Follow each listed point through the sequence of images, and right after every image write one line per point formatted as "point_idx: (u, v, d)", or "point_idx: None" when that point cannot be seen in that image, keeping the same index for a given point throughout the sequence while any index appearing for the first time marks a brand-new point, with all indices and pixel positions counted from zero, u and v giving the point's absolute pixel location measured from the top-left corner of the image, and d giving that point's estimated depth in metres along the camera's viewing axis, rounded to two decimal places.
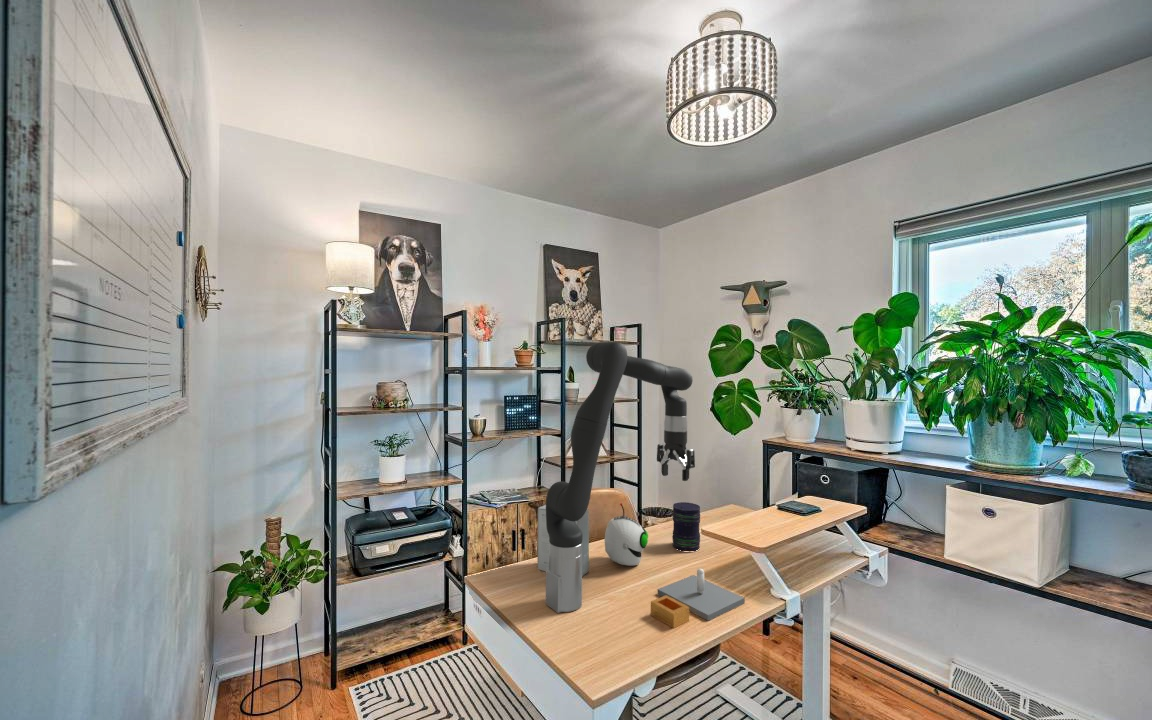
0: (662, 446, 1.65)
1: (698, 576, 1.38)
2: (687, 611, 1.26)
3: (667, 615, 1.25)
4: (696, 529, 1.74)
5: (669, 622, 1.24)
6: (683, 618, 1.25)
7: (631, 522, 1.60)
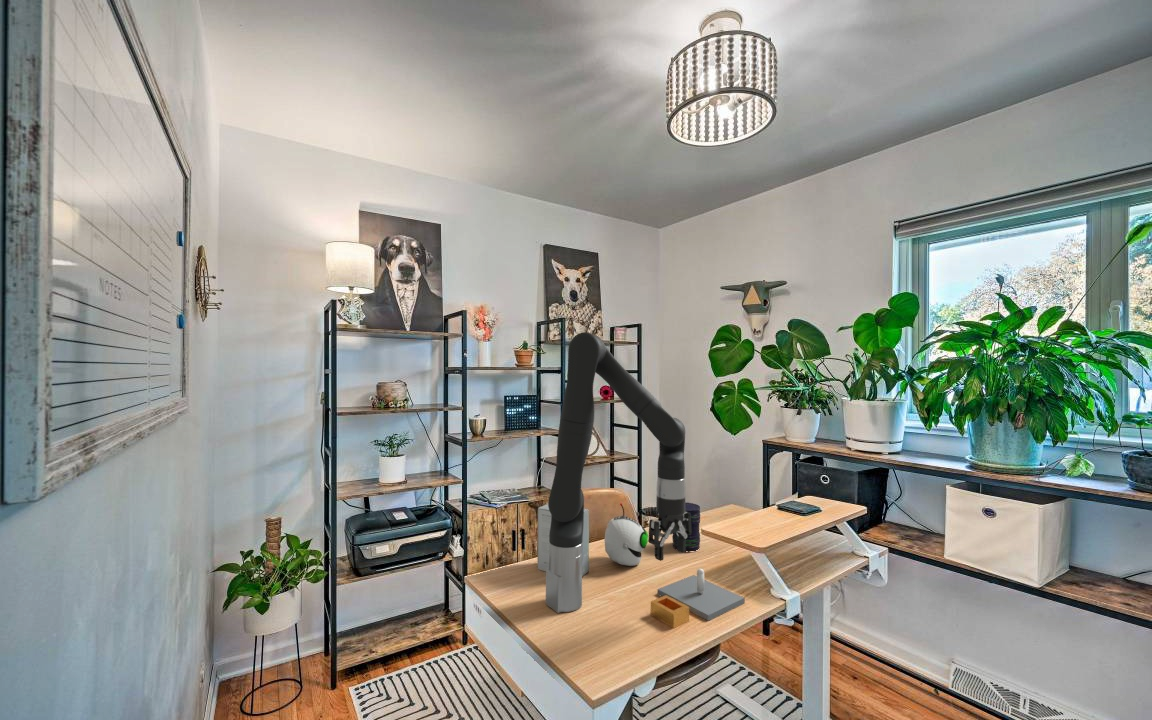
0: None
1: (698, 576, 1.38)
2: (687, 611, 1.26)
3: (667, 615, 1.25)
4: (696, 529, 1.74)
5: (669, 622, 1.24)
6: (683, 618, 1.25)
7: (631, 522, 1.60)
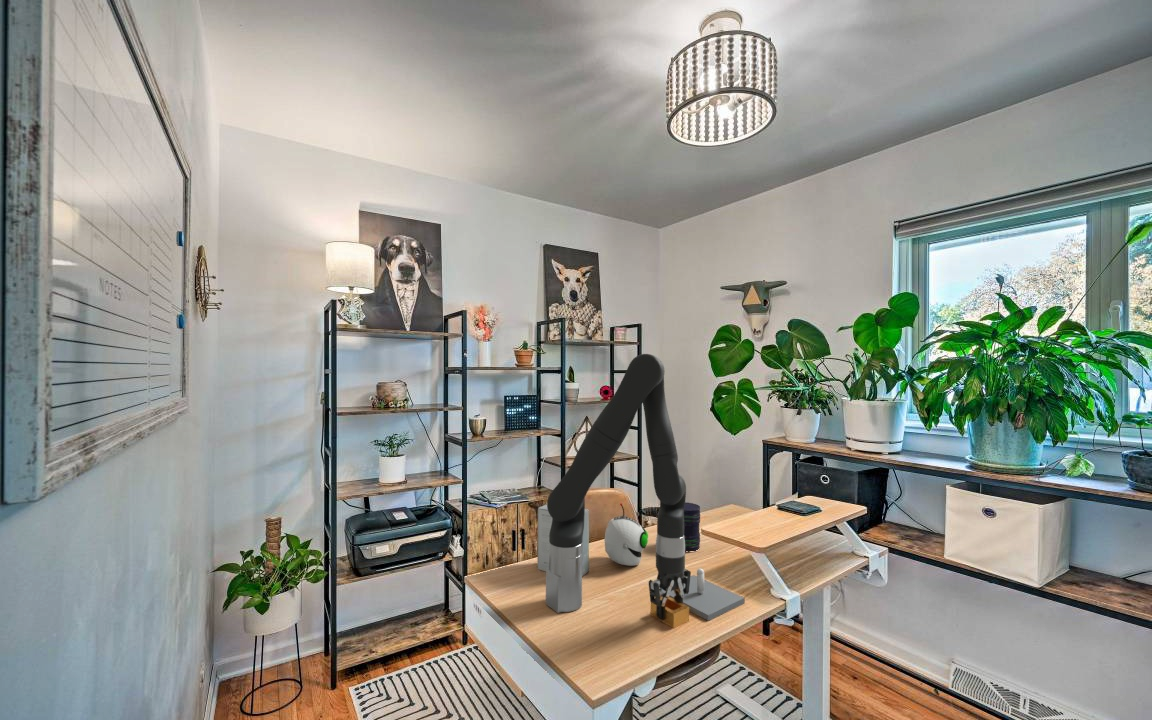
0: (657, 583, 1.25)
1: (698, 576, 1.38)
2: (687, 611, 1.26)
3: (667, 615, 1.25)
4: (696, 529, 1.74)
5: (669, 622, 1.24)
6: (683, 618, 1.25)
7: (631, 522, 1.60)
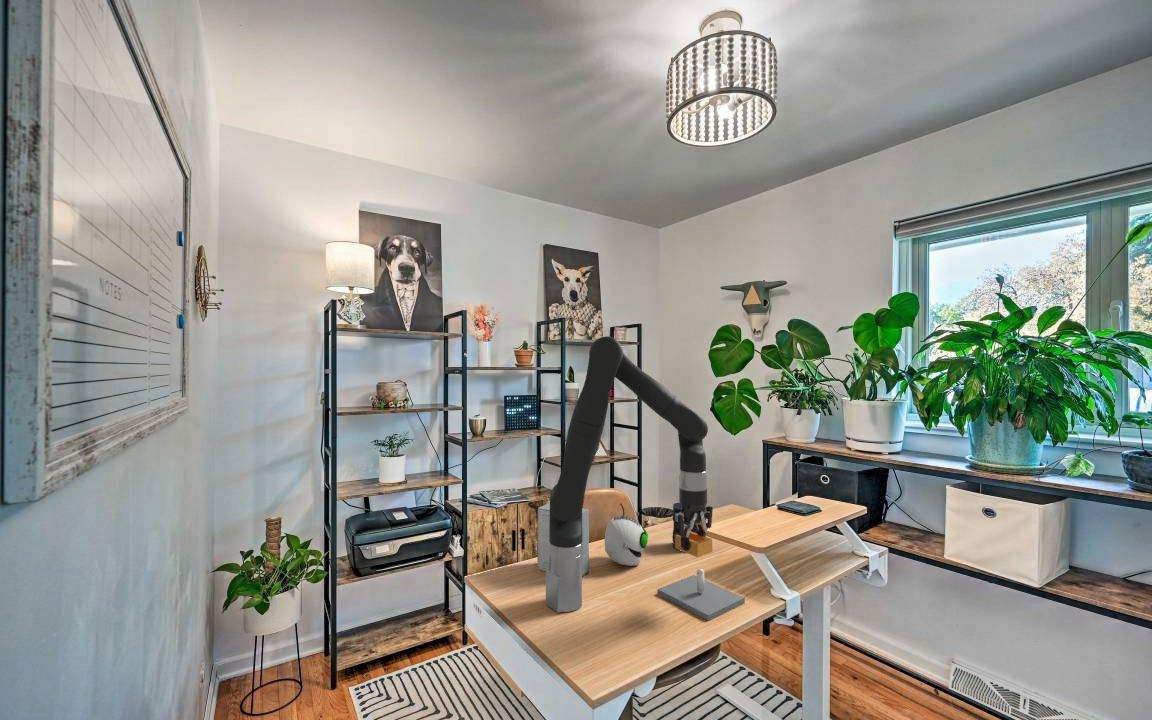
0: None
1: (698, 576, 1.38)
2: (710, 543, 1.33)
3: (691, 546, 1.31)
4: (696, 529, 1.74)
5: (693, 552, 1.31)
6: (706, 549, 1.32)
7: (631, 522, 1.60)
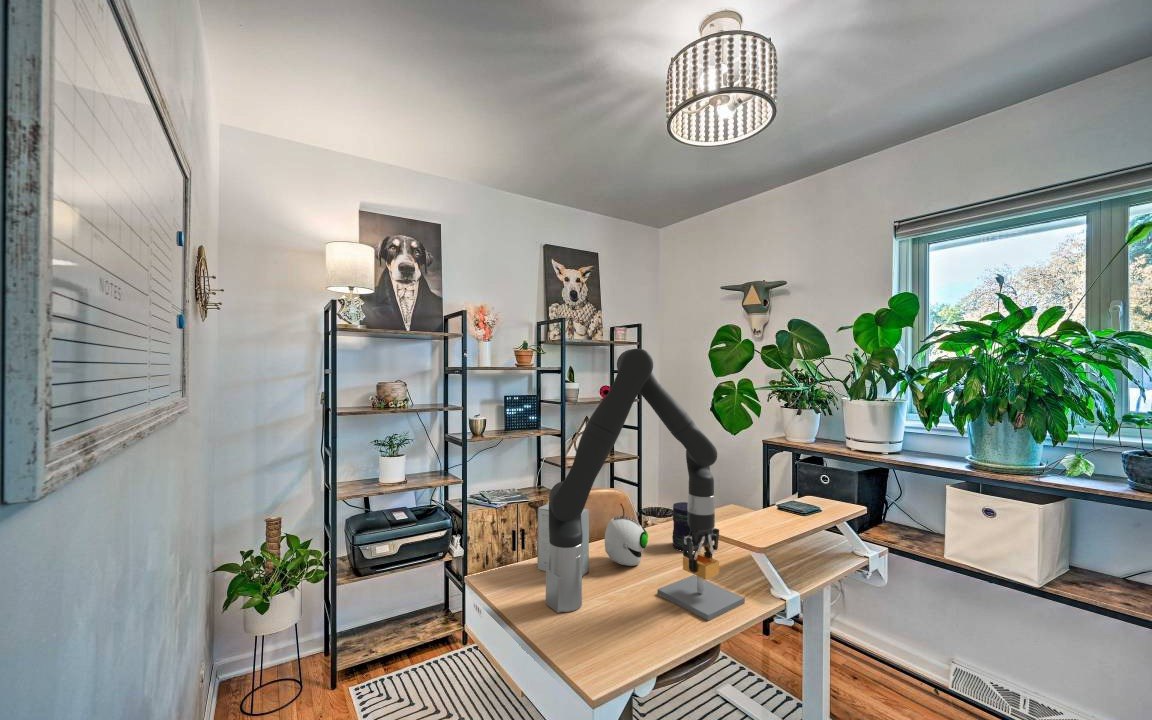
0: None
1: (698, 576, 1.38)
2: (717, 565, 1.37)
3: (699, 568, 1.35)
4: None
5: (700, 574, 1.35)
6: (714, 571, 1.36)
7: (631, 522, 1.60)
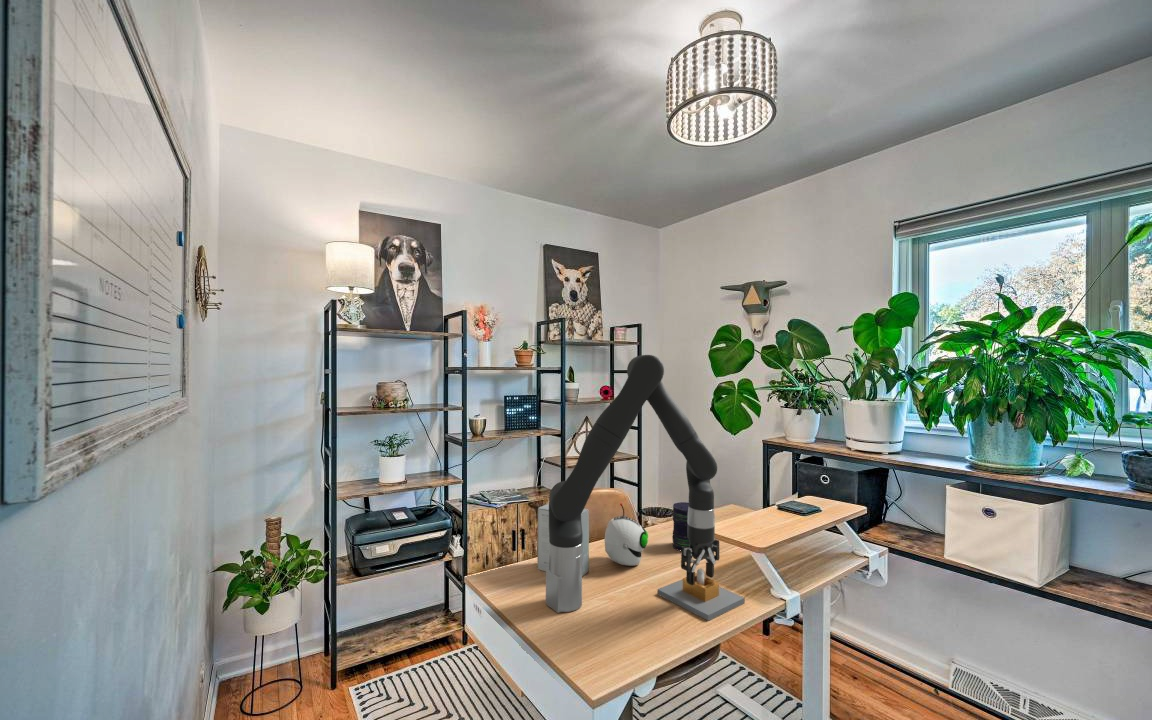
0: None
1: (698, 576, 1.38)
2: (717, 587, 1.37)
3: (699, 590, 1.35)
4: None
5: (700, 596, 1.35)
6: (713, 593, 1.36)
7: (631, 522, 1.60)
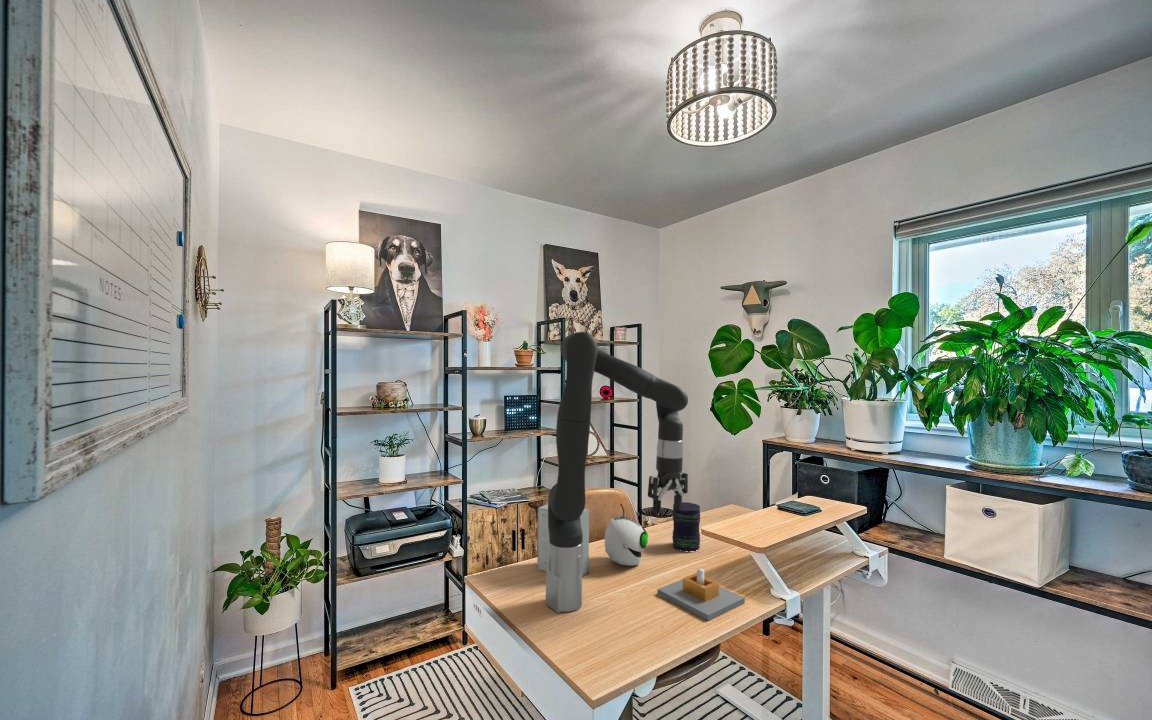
0: None
1: (698, 576, 1.38)
2: (717, 587, 1.37)
3: (699, 590, 1.35)
4: (696, 529, 1.74)
5: (700, 596, 1.35)
6: (713, 593, 1.36)
7: (631, 522, 1.60)
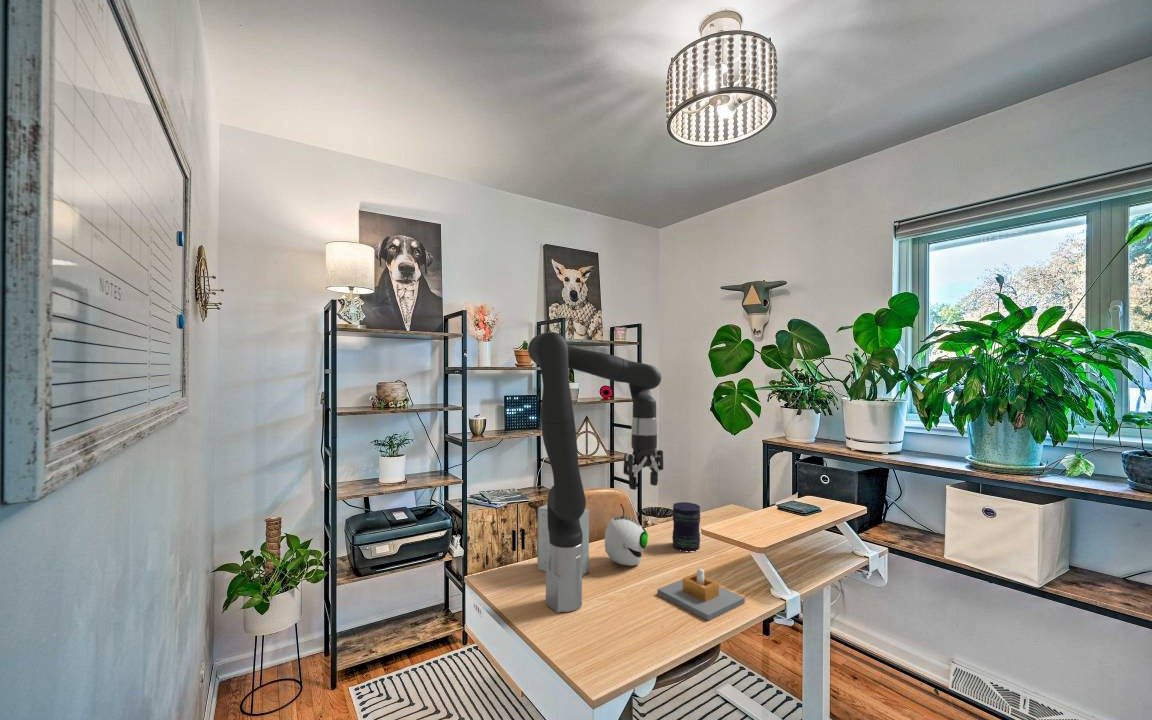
0: None
1: (698, 576, 1.38)
2: (717, 587, 1.37)
3: (699, 590, 1.35)
4: (696, 529, 1.74)
5: (700, 596, 1.35)
6: (713, 593, 1.36)
7: (631, 522, 1.60)
